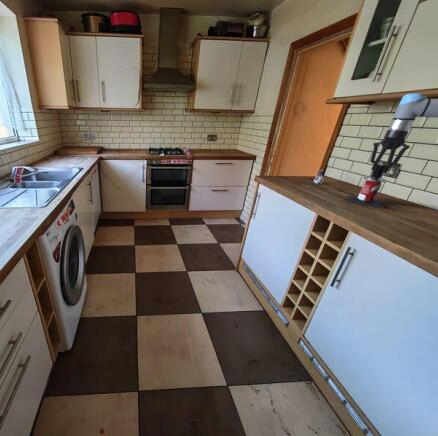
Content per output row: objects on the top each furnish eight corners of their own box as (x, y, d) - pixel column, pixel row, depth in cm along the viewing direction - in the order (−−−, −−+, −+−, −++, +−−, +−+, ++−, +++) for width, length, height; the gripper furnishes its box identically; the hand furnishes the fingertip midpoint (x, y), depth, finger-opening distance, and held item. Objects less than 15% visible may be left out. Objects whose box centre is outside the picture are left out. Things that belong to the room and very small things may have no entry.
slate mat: (378, 201, 127) (379, 200, 127) (383, 208, 118) (384, 207, 118) (347, 196, 134) (347, 195, 134) (349, 202, 125) (349, 201, 125)
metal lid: (384, 179, 122) (391, 165, 119) (387, 183, 115) (395, 168, 112) (362, 176, 126) (368, 162, 123) (364, 180, 120) (371, 165, 116)
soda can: (361, 202, 124) (371, 181, 119) (354, 198, 130) (363, 177, 125) (375, 203, 122) (386, 182, 117) (368, 199, 128) (377, 178, 123)
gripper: (418, 130, 109) (393, 178, 119) (375, 128, 117) (356, 173, 127) (423, 131, 103) (397, 181, 114) (378, 129, 111) (358, 176, 121)
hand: (375, 177), depth 120 cm, fingers closed on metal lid, 2 cm apart
